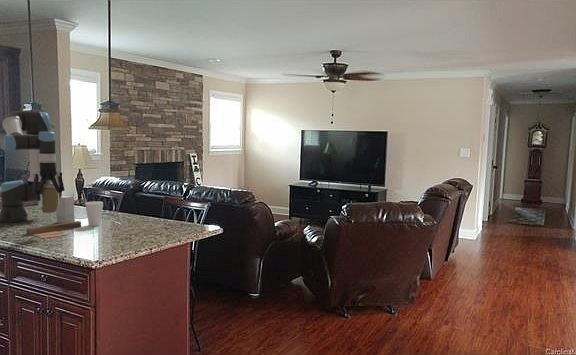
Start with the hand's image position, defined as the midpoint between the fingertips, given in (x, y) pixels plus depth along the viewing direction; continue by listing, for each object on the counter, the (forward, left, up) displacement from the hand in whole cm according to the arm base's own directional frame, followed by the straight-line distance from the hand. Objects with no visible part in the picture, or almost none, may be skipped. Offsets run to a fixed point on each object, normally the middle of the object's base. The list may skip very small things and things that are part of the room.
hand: (49, 205), depth 243 cm
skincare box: (-25, +21, -16) cm, 36 cm away
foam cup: (-7, +29, -16) cm, 34 cm away
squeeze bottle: (0, 0, -3) cm, 3 cm away
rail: (-2, +7, -15) cm, 17 cm away
